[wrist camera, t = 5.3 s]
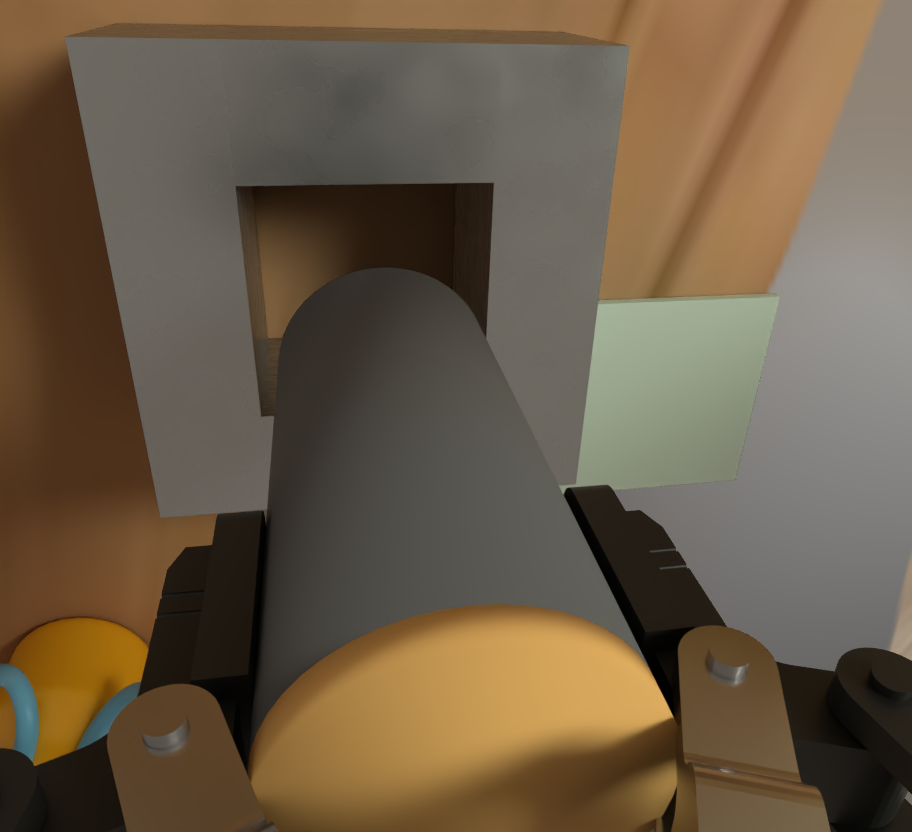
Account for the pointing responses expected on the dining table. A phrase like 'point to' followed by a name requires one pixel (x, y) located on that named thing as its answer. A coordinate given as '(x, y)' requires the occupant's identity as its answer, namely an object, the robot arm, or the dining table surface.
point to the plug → (434, 595)
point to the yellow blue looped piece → (68, 685)
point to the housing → (340, 163)
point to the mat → (672, 389)
